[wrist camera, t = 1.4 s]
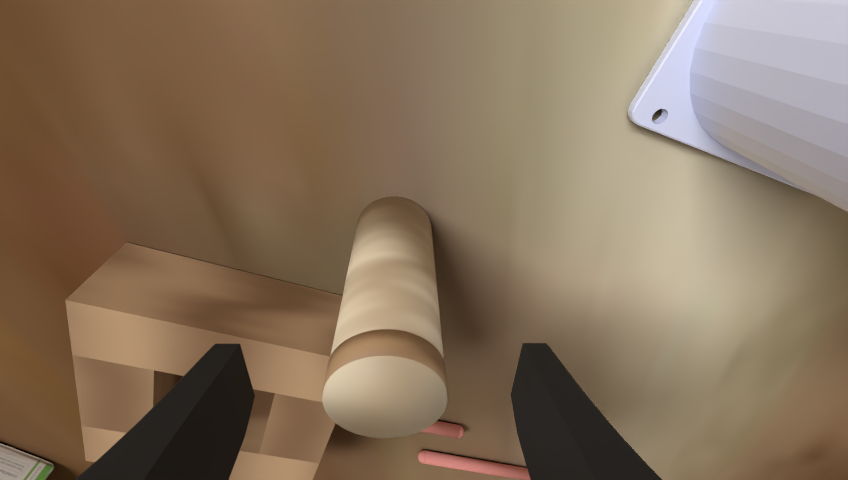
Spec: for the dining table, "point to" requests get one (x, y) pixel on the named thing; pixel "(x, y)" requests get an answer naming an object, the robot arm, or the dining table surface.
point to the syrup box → (22, 465)
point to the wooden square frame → (203, 352)
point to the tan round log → (388, 328)
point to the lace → (464, 462)
